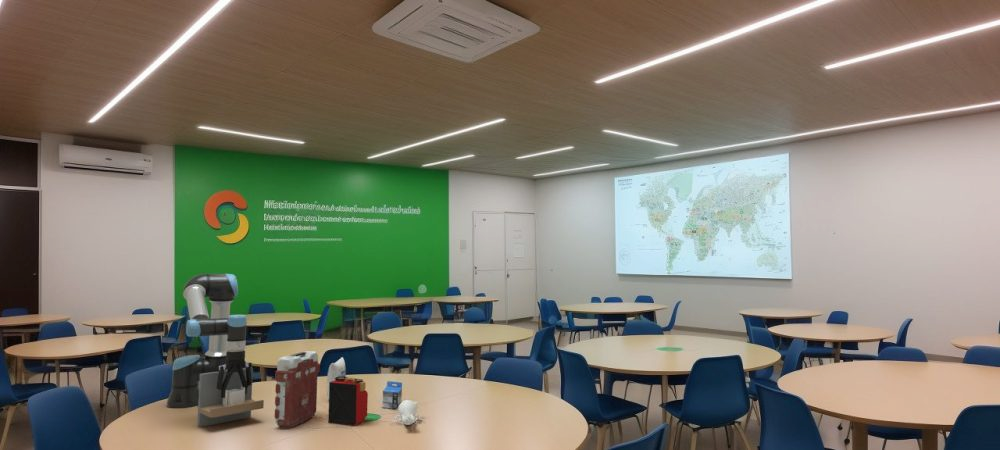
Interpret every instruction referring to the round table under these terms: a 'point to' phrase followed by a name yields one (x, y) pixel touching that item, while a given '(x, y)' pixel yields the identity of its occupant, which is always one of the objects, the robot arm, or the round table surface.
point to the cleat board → (212, 402)
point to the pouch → (335, 372)
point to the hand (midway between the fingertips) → (233, 403)
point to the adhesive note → (235, 397)
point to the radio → (347, 401)
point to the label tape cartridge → (392, 395)
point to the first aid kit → (296, 388)
